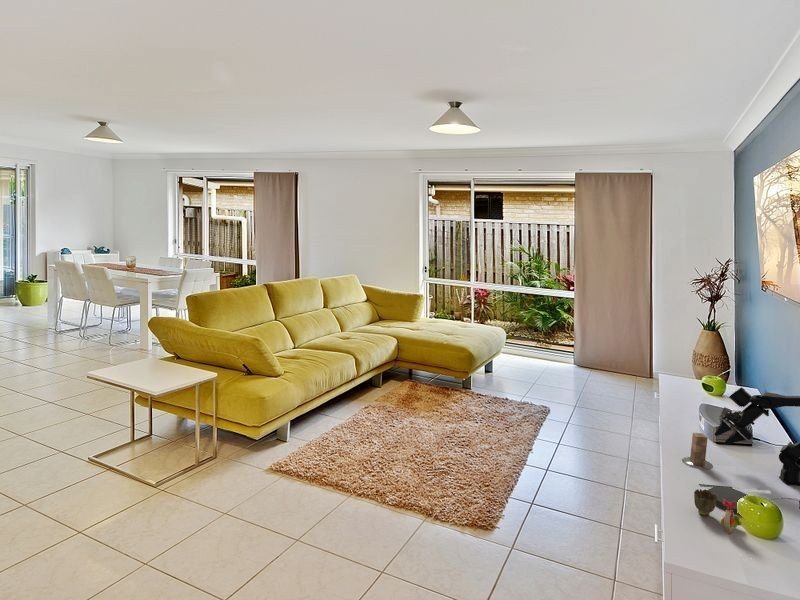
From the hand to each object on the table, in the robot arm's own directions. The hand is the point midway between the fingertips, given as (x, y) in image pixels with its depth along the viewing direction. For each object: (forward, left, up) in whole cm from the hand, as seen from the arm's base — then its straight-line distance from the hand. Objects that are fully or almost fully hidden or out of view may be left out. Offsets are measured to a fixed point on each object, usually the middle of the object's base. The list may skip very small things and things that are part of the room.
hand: (719, 439), depth 229 cm
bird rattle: (+16, +50, -13) cm, 54 cm away
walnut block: (+8, -1, -12) cm, 14 cm away
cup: (+21, +41, -13) cm, 48 cm away
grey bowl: (+8, -1, -13) cm, 15 cm away
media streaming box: (+7, +30, -14) cm, 34 cm away
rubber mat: (+8, +14, -13) cm, 21 cm away
